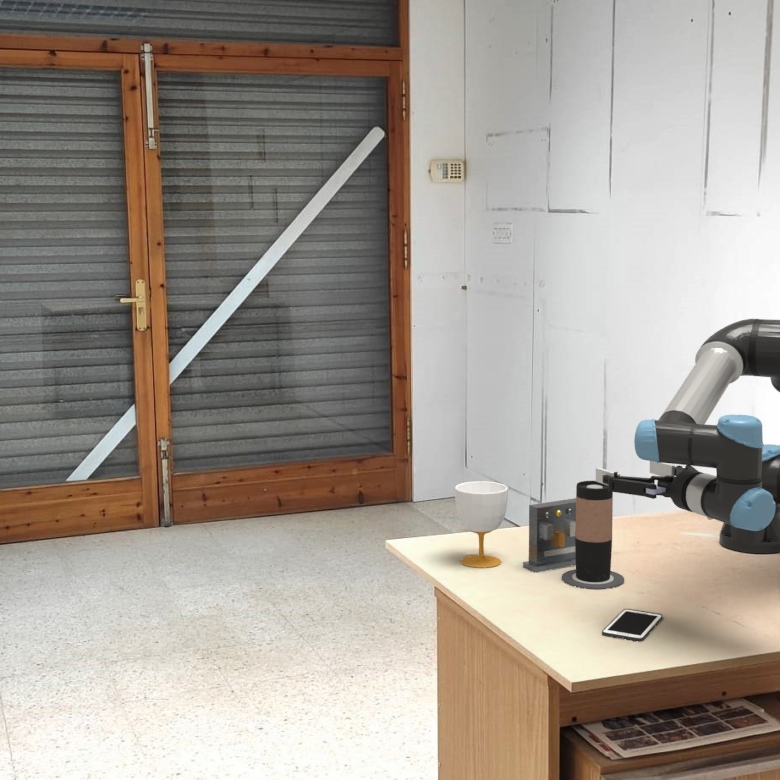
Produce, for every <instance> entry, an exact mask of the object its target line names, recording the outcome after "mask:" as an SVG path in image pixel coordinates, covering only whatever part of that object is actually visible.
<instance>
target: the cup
mask: <svg viewBox="0 0 780 780" xmlns="http://www.w3.org/2000/svg"><path fill="white" fill-rule="evenodd" d="M508 494H509V487H508V486H507V485H506V484H503V483H501V482H494V481H487V480H486V481H485V480H484V481H483V480H481V481H478V480H477V481H466V482H461V483H459V484H457V485H455V487H454V499H455V506H456V507H455V508H456V513H457V517H458V520H459V521H460V523H461V525H462V526H463V528H465V529H466V530H468V531H470V532H471V533H473V534H477V536H478V554H476V555H475V554H474V555H473V554H472V555H468V556H465V557H463V558H461V560H460V563H461V564H462V565H463V566H466V567H470V568H474V567H476V568H477V569H485V568H484V567H491V568H494V567H493V566H495V567H498V566H499V565H501V563H502V560H501V558H499V557H497V556H493V555H488V554H487V555H486V554H485V551H484V547H485V546H484V541H485V540H484V539H485V535H486V534H489V533H491V532H493V531H496V530H497V529H499V528H500V526H501V524H502V523H503V521H504V519H505V517H506V513H507V507H508V501H509V500H508V499H509V497H508V496H509V495H508ZM497 565H498V566H497ZM480 567H482V568H480ZM476 568H475V569H476Z"/></svg>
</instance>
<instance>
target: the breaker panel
mask: <svg viewBox="0 0 780 780" xmlns="http://www.w3.org/2000/svg"><path fill="white" fill-rule="evenodd" d="M528 507H529V508H528V560H527V561H523V562H522V568H524V569H525V570H528V571H530V572H532V571H533V573H535V572H536V573H540V571H541V572H545V571H546V570H547V571H551V570H550V569H552V570H556V568H558V569H562V568H561V567H563V568H567V567H566V566H569V567H572V566H571V565H574V566H576V556H575V525H576V497H575V498H568V499H562V500H555V501H549V502H542V503H541V502H540V503H534V504H529V506H528Z"/></svg>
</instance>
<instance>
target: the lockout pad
mask: <svg viewBox="0 0 780 780" xmlns="http://www.w3.org/2000/svg"><path fill="white" fill-rule="evenodd" d="M562 580H563V581H564V582H563V581H562ZM561 581H562V582H563V583H565V584H566V583H567V585H568V584H569V586H572V587H574V586H576V587H575V588H578V587H580V588H579V589H584V588H586V589H587V590H607V589H606V588H610V589H614V588H613V587H615V588H617V586H618V587H620V585H621V586H622V585H623V584H624V583H625V577H624V576H623V574H620V573H619V572H616V571H612V570H611V571H610V579H609V580H607V581H604V582H586V581H582V580H579V579H578V578H577V577H576V568H575V569H570V570H567V571H565V572H564V573H562V575H561Z"/></svg>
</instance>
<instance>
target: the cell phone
mask: <svg viewBox="0 0 780 780" xmlns="http://www.w3.org/2000/svg"><path fill="white" fill-rule="evenodd" d="M663 619H664V615H663V614H662V613H658V612H651V611H646V610H639V609H633V608H624V609H622V610H621V611H620V612H619V613H618V614H617V615H616V616H615V617H614V618H613V619H612V620H611V621H610V622H609V623H608V624H607V625H606V626H605V627H604V628H603V629H602V630H601V635H602V636H603V637H609V638H610V637H611V638H614V639H622V638H623V639H622V640H624V639H626V640H625V641H630V640H633V641H632V642H636V641H638V643H641V641H642V642H644V641H645V639H647V637H649V635H650V634H651V633H652V632H653V631H654V630H655V628H656V627H658V625H659V624H660V623H659V622H662V620H663ZM651 631H652V632H651ZM650 632H651V633H650Z"/></svg>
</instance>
